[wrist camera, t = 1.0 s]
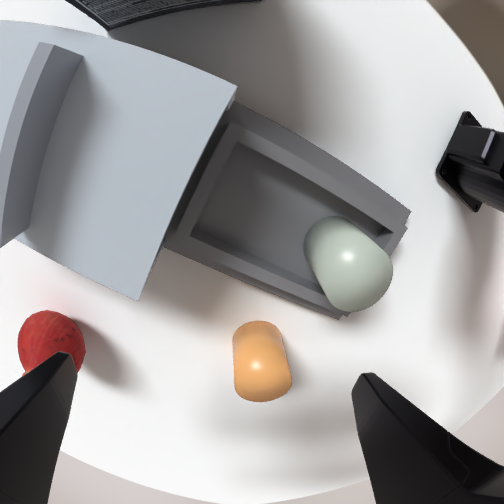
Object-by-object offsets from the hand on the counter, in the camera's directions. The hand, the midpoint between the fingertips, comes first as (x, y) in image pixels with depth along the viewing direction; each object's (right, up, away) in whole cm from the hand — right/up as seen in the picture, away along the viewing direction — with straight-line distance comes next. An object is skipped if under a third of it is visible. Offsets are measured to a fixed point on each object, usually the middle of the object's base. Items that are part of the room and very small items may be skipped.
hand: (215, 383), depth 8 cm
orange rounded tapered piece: (+1, -3, +16) cm, 16 cm away
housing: (-2, +9, +10) cm, 13 cm away
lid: (-8, +11, +7) cm, 15 cm away
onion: (-15, -2, +14) cm, 21 cm away
